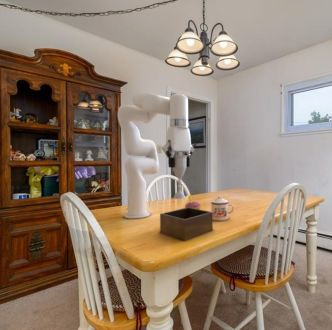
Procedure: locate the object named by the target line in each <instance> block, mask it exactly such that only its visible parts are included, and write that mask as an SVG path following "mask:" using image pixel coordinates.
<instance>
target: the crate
mask: <svg viewBox="0 0 332 330" xmlns="http://www.w3.org/2000/svg"><path fill="white" fill-rule="evenodd" d="M213 222H214V220H213V212H211V211H208V210H204V209H194V208H189V207H187V208H185V207H183V208H178V209H174V210H170V211H166V212H161V213H159V234H163V235H166V236H169V237H172V238H175V239H178V240H181V241H184V242H186V241H189V240H191V239H194V238H196V237H199V236H202V235H204V234H206V233H207V234H208V233H209V232H212V231H213V229H214V227H213V226H214V224H213Z"/></svg>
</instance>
